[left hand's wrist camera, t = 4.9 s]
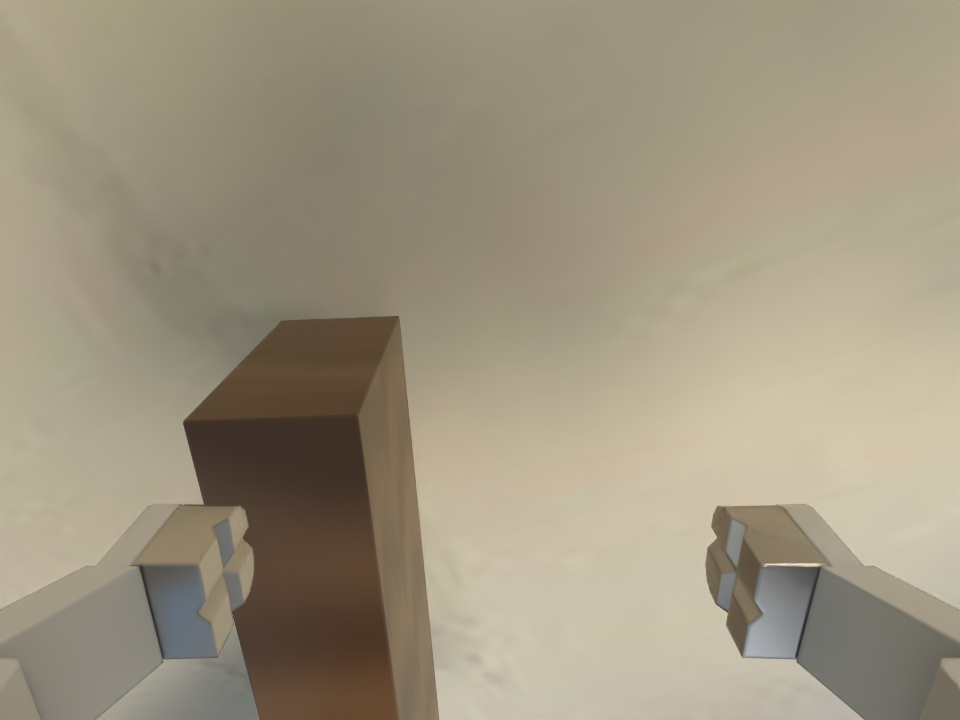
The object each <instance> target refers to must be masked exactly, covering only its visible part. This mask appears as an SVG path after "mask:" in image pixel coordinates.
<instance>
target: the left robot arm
mask: <svg viewBox="0 0 960 720" xmlns="http://www.w3.org/2000/svg"><path fill="white" fill-rule="evenodd" d="M248 527H249V525H248V520H247V515H246V511H245V509H244V508H242V507H241V506H239V505H192V504H184V505H181V504H155V505H152V506H149V507H147V508H146V509H145V510H144V512H143V513H142V514H141V515H140V516H139V517H138V518H137V520H136V521H135V522H134V523H133V524H132V525H131V526H130V528H129V529H128V530H127V531H126V532H125V533H124V534H123V536H122V537H121V538H120V539H119V540H118V541H117V542H116V543H115V545H114V546H113V547H112V548H111V549H110V550H109V551H108V553H107V554H106V555H105V556H104V557H103V558H102V559H101V561H100V562H99V563H98V564H97V565H96V566H85V567H83V568H81V569H79V570H77V571H75V572H73V573H71V574H69V575H67V576H65V577H63V578H61V579H60V580H58V581H56V582H54V583H52V584H50V585H48V586H46V587H44V588H42V589H40V590H38V591H36V592H34V593H32V594H30V595H28V596H26V597H24V598H22V599H20V600H18V601H16V602H14V603H12V604H10V605H8V606H6V607H4V608H2V609H0V720H96V719H97V718H98V717H99V716H100V715H102V714H103V713H104V712H105V711H106V710H108V709H109V708H110V707H111V706H112V705H113V704H115V703H116V702H117V701H118V700H119V699H121V698H122V697H123V696H124V695H125V694H126V693H128V692H129V691H130V690H131V689H132V688H134V687H135V686H136V685H137V684H138V683H139V682H141V681H142V680H143V679H144V678H145V677H147V676H148V675H149V674H150V673H151V672H152V671H154V670H155V669H156V668H157V667H158V666H160V665H161V664H162V663H163V659H190V658H218V656H219V654H220V652H221V650H222V648H223V646H224V644H225V642H226V640H227V638H228V636H229V634H230V632H231V630H232V628H233V626H234V622H233V617H232V612H234V611H235V610H237V609H238V608H239V607H241V606H242V605H244V603H245V601H246V599H247V597H248V595H249V593H250V590H251V586H252V581H253V576H254V555H253V548H252V547H251V546H250V545H249V544H248V543H247V542H246V541H245V540H244V539H243V536H244V534H245V532H246V530H247V529H248ZM711 527H712V529H713V530H714V532H715V534H716V536H717V539H716V540H715V541H714V542H713V543H712V544H711V545H710V546H709V547H708V548H707V556H706V564H705V565H706V576H707V583H708V586H709V590H710V593H711V595H712V597H713V599H714V601H715V604H716V605H718V606H719V607H720V608H722V609H723V610H725V611H726V612H727V613H728V616H727V622H726V626H727V628H728V630H729V632H730V634H731V636H732V638H733V640H734V642H735V644H736V646H737V648H738V650H739V652H740V654H741V656H742V658H769V659H797V661H796V662H797V663H798V664H800V665H801V666H802V667H803V668H804V669H805V670H807V671H808V672H809V673H810V674H811V675H813V676H814V677H815V678H816V679H817V680H818V681H820V682H821V683H822V684H823V685H824V686H825V687H827V688H828V689H829V690H830V691H831V692H833V693H834V694H835V695H836V696H837V697H838V698H840V699H841V700H842V701H843V702H844V703H846V704H847V705H848V706H849V707H850V708H851V709H853V710H854V711H855V712H856V713H857V714H858V715H860V716H861V717H862V718H863V719H864V720H960V610H959V609H957V608H955V607H953V606H951V605H950V604H948V603H946V602H944V601H942V600H940V599H938V598H936V597H934V596H932V595H930V594H928V593H926V592H924V591H922V590H920V589H918V588H916V587H914V586H912V585H910V584H908V583H906V582H904V581H902V580H900V579H898V578H896V577H894V576H892V575H891V574H889V573H887V572H885V571H883V570H881V569H879V568H877V567H875V566H864V565H863V564H862V563H861V562H860V561H859V559H858V558H857V557H856V556H855V555H854V554H853V553H852V551H851V550H850V549H849V548H848V547H847V546H846V545H845V544H844V542H843V541H842V540H841V539H840V538H839V537H838V536H837V534H836V533H835V532H834V531H833V530H832V529H831V528H830V526H829V525H828V524H827V523H826V522H825V521H824V520H823V518H822V517H821V516H820V515H819V514H818V513H817V512H816V511H815V509H814V508H813V507H811V506H809V505H807V504H785V505H773V506H717V508H716V510H715V512H714V514H713V519H712V525H711Z"/></svg>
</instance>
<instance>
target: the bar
mask: <svg viewBox="0 0 960 720" xmlns="http://www.w3.org/2000/svg"><path fill="white" fill-rule="evenodd" d="M183 425H184V429H185V432H186V436H187V440H188V444H189V448H190V452H191V456H192V459H193V463H194V467H195V471H196V475H197V479H198V483H199V486H200V490H201V494H202V498H203V502H204V505H239V506H241V507H242V508H244V509H245V511H246V515H247V520H248V525H249V527H248V529H247V530H246V532H245V534H244V536H243V539H244V540H245V541H246V542H247V543H248V544H249V545H250V546H251V547H252V548H253V555H254V576H253V581H252V586H251V590H250V593H249V595H248V597H247V599H246V601H245V603H244V605H242V606H241V607H239V608H238V609H237V610H235V611H234V612H232V614H233V618H234V621H235V625H236V629H237V633H238V637H239V641H240V645H241V648H242V652H243V656H244V660H245V664H246V668H247V672H248V675H249V679H250V683H251V687H252V691H253V695H254V698H255V702H256V706H257V710H258V714H259V718H260V720H439V712H438V702H437V692H436V682H435V672H434V662H433V652H432V642H431V632H430V622H429V612H428V602H427V591H426V581H425V571H424V561H423V551H422V541H421V531H420V521H419V511H418V501H417V491H416V481H415V471H414V460H413V450H412V440H411V430H410V420H409V410H408V400H407V390H406V380H405V370H404V360H403V350H402V340H401V330H400V319H399V316H388V317H363V318H338V319H314V320H289V321H281V322H280V323H279V324H278V325H277V326H276V327H275V328H274V329H273V330H272V331H271V332H270V333H269V334H268V335H267V336H266V337H265V338H264V339H263V340H262V341H261V342H260V344H259V345H258V346H257V347H256V348H255V349H254V350H253V351H252V352H251V353H250V354H249V355H248V356H247V357H246V358H245V359H244V360H243V361H242V362H241V363H240V364H239V365H238V366H237V367H236V368H235V369H234V370H233V371H232V372H231V373H230V374H229V375H228V376H227V377H226V378H225V379H224V380H223V381H222V382H221V383H220V384H219V385H218V386H217V387H216V388H215V390H214V391H213V392H212V393H211V394H210V395H209V396H208V397H207V398H206V399H205V400H204V401H203V402H202V403H201V404H200V405H199V406H198V407H197V408H196V409H195V410H194V411H193V412H192V413H191V414H190V415H189V416H188V417H187V418H186V419H185V420H184V422H183Z"/></svg>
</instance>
